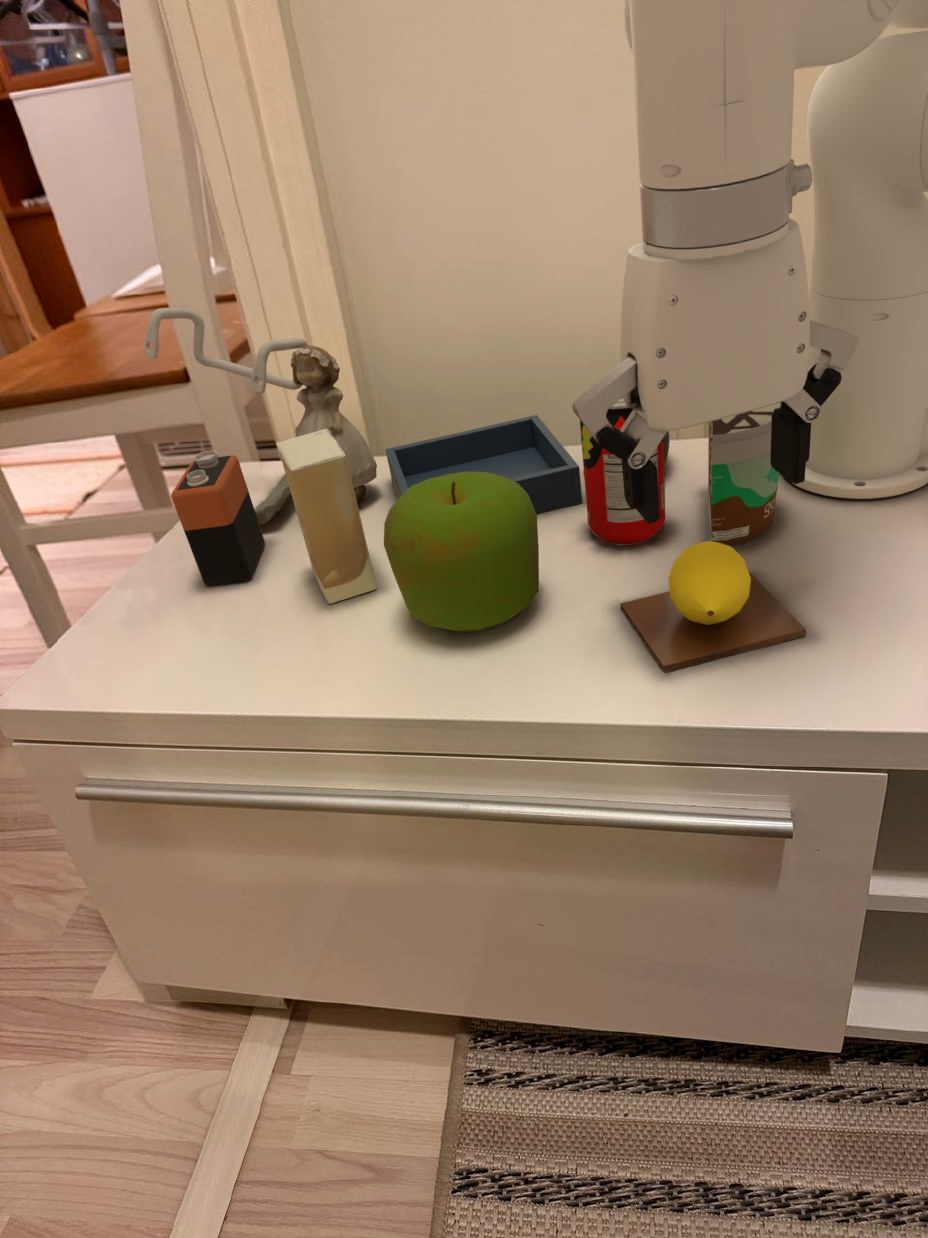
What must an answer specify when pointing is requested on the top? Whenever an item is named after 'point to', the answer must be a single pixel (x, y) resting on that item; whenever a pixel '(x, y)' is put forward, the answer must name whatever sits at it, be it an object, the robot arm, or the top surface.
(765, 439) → the brown and cream wedge
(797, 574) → the top surface
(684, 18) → the robot arm
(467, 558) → the apple
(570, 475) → the bin
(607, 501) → the beverage can
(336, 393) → the figurine
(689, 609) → the lemon
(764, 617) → the placemat
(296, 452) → the cosmetic box
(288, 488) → the stone
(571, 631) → the top surface
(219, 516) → the battery
